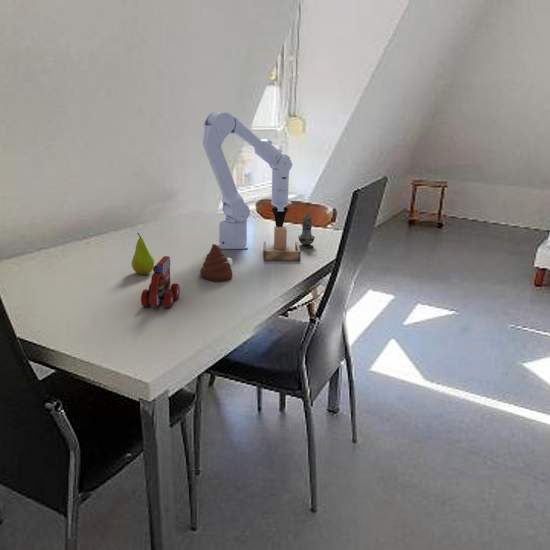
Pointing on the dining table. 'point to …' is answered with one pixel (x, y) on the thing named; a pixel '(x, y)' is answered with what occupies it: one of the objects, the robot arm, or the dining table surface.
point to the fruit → (142, 258)
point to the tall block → (280, 237)
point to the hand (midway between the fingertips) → (279, 227)
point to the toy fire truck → (161, 286)
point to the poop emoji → (216, 265)
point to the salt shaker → (306, 234)
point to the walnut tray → (282, 254)
